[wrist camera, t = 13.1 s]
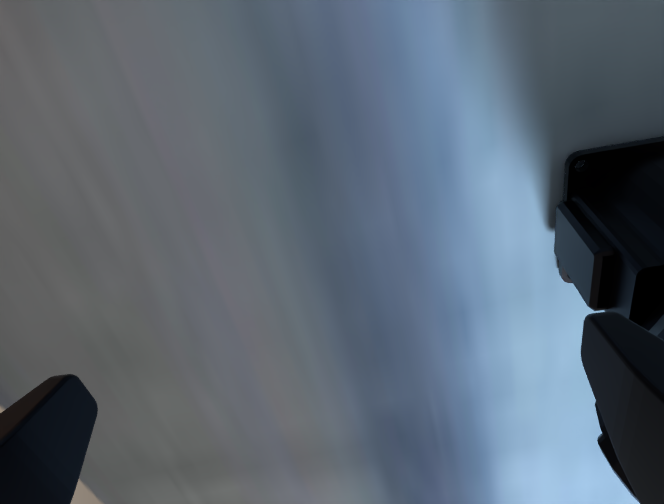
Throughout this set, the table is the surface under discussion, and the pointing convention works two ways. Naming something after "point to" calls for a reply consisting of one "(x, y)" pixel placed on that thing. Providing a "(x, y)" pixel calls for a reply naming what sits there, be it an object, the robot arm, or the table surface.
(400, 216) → the table surface
